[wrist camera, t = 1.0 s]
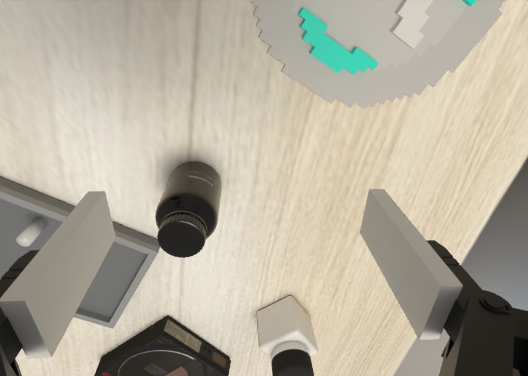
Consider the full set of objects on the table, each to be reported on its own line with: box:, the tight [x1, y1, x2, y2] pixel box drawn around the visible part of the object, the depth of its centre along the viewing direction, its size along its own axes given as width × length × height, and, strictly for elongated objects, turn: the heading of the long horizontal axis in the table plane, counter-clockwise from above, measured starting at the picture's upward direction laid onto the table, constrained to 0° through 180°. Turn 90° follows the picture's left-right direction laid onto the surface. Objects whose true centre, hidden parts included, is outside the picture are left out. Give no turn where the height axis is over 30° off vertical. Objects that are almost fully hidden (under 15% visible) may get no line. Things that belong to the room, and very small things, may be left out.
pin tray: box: [0, 177, 160, 328], centre depth 44 cm, size 24×18×6 cm
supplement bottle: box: [156, 162, 221, 258], centre depth 37 cm, size 7×7×12 cm
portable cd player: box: [94, 316, 231, 376], centre depth 59 cm, size 16×17×4 cm
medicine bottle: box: [257, 295, 318, 376], centre depth 51 cm, size 7×7×12 cm
